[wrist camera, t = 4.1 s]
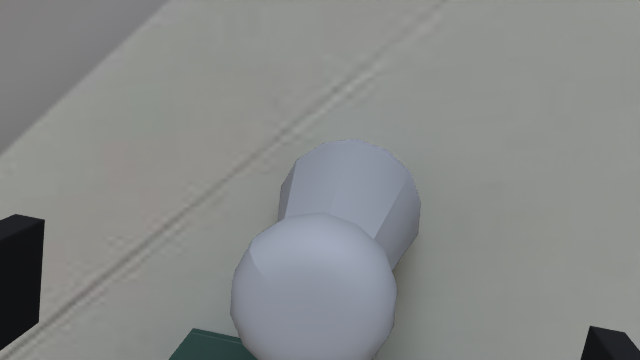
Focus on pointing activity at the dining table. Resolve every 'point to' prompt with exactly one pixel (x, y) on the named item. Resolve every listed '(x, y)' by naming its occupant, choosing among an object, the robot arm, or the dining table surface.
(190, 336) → the tote
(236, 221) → the dining table surface
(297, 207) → the salt shaker
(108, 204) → the dining table surface
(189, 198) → the dining table surface
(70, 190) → the dining table surface
